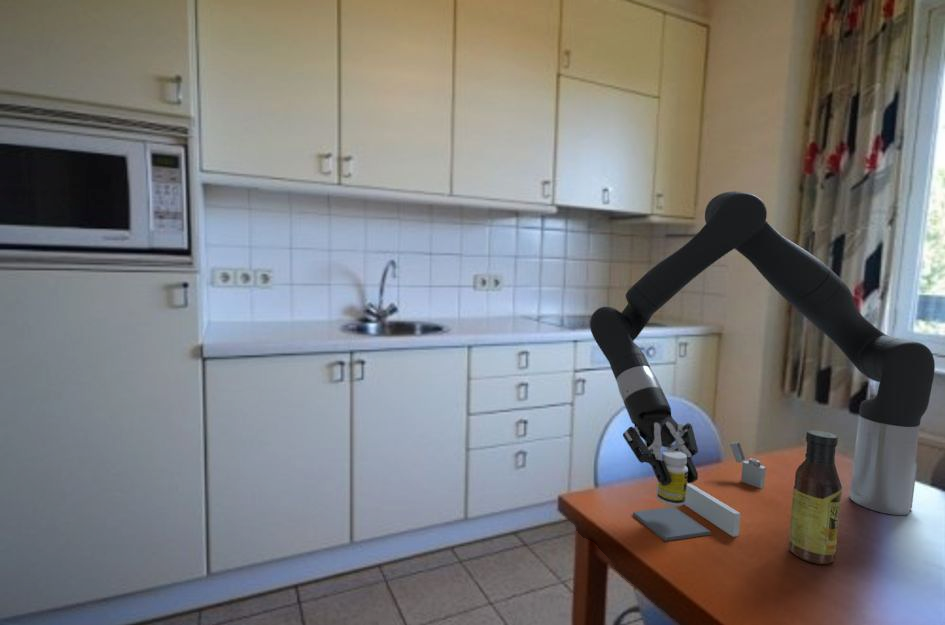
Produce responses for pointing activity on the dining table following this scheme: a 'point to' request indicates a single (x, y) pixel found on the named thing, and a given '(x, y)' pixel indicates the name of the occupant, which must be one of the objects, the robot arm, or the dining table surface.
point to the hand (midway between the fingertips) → (680, 482)
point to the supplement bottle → (674, 479)
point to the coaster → (671, 523)
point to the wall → (713, 510)
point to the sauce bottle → (816, 501)
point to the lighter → (749, 467)
